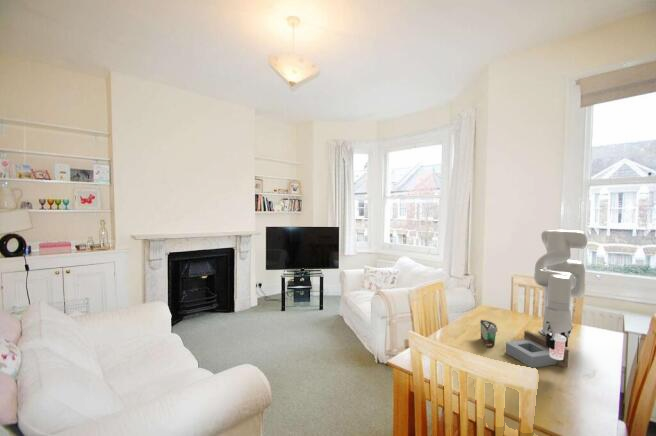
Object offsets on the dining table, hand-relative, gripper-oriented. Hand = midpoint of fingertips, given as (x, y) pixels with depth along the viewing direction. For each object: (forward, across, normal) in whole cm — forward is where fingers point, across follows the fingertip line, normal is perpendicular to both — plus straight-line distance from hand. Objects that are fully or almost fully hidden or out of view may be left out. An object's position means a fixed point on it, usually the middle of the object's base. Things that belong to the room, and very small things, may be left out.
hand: (556, 346), depth 122 cm
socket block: (+13, -2, -13) cm, 19 cm away
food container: (+13, +5, -30) cm, 33 cm away
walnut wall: (+13, -10, -13) cm, 21 cm away
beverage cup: (+5, 0, 0) cm, 5 cm away
